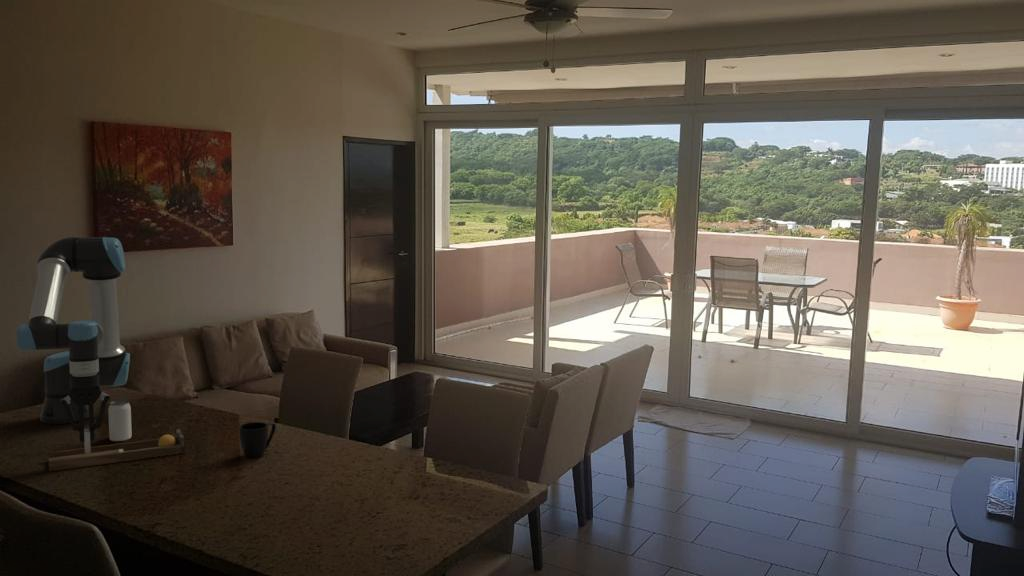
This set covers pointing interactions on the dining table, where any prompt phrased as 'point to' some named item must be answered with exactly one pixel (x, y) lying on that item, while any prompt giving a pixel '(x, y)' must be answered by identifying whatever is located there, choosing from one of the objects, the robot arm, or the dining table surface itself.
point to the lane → (113, 453)
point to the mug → (255, 438)
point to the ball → (166, 441)
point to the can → (119, 421)
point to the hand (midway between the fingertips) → (87, 451)
